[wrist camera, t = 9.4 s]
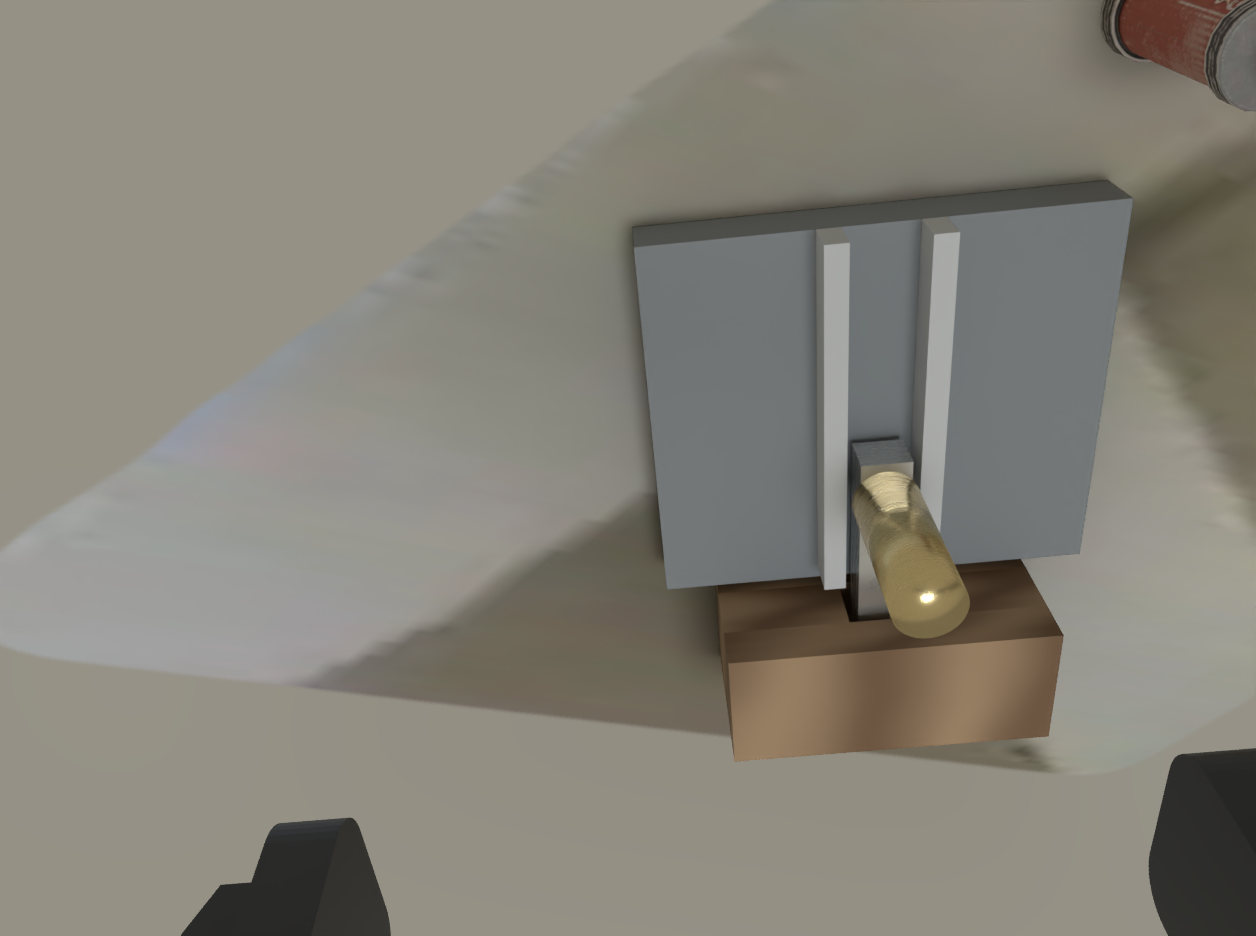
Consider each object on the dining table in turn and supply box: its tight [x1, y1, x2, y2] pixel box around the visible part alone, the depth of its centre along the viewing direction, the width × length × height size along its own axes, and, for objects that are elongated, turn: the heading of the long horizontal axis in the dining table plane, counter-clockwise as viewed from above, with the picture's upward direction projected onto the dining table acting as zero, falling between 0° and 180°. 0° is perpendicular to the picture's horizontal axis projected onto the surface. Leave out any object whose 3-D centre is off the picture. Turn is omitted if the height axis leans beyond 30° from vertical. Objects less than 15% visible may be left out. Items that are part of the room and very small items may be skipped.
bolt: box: [850, 439, 970, 639], centre depth 37 cm, size 2×9×8 cm, turn 6°
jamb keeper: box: [716, 559, 1064, 761], centre depth 42 cm, size 12×5×6 cm, turn 96°
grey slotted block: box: [632, 180, 1133, 590], centre depth 38 cm, size 16×14×4 cm
